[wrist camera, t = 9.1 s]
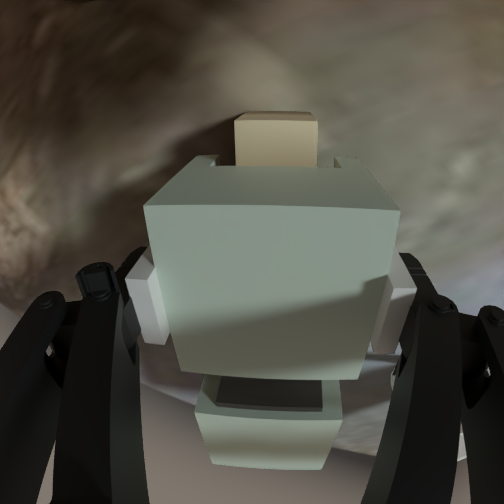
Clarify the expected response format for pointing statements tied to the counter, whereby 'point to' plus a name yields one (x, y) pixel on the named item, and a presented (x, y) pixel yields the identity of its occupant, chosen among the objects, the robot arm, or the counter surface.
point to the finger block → (272, 266)
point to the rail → (259, 389)
